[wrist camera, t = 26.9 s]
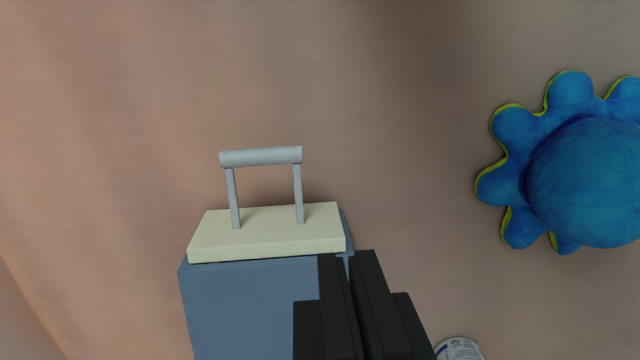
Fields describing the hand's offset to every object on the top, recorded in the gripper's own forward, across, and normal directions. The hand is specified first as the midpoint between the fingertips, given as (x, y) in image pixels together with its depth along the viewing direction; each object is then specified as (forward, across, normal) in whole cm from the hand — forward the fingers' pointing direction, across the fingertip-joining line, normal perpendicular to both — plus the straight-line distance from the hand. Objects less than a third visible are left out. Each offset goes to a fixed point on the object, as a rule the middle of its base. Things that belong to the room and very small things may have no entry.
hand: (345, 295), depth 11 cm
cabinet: (+23, +4, +15) cm, 28 cm away
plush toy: (+23, -23, +5) cm, 33 cm away
